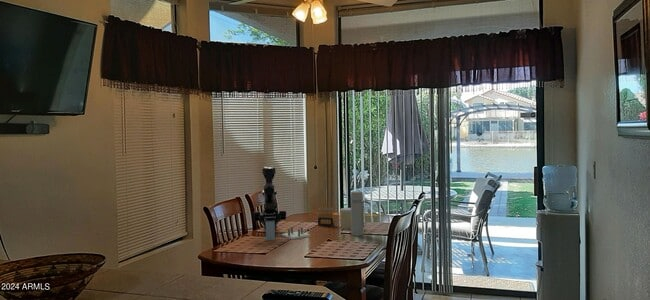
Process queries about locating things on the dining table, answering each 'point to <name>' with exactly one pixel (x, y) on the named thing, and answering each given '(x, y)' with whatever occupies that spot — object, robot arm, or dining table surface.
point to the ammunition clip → (325, 217)
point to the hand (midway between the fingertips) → (270, 227)
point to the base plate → (295, 234)
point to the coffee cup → (345, 218)
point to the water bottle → (357, 213)
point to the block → (270, 230)
